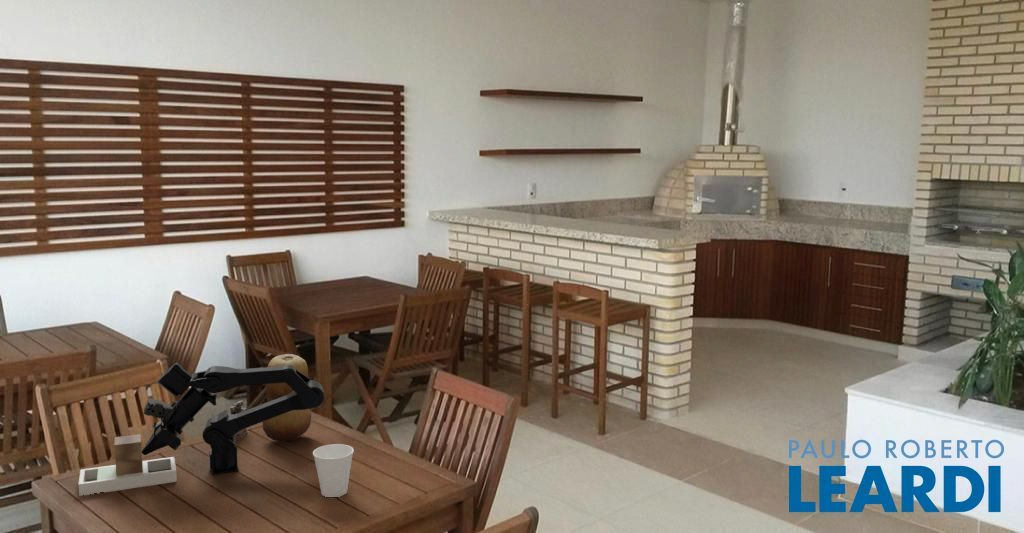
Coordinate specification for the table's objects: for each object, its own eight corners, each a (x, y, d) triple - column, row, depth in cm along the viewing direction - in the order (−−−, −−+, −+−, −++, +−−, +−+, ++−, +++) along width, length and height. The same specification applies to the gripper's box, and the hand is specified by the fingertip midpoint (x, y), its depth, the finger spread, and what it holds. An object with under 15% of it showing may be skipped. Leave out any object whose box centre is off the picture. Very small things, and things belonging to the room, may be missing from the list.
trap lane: (174, 467, 219) (174, 456, 218) (176, 481, 210) (176, 470, 209) (81, 480, 209) (80, 469, 209) (79, 496, 200) (78, 484, 200)
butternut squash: (286, 452, 230) (283, 365, 226) (253, 442, 237) (250, 358, 233) (322, 437, 242) (320, 354, 238) (289, 428, 249) (287, 348, 245)
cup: (319, 505, 197) (318, 461, 195) (309, 489, 206) (308, 447, 204) (359, 497, 201) (359, 454, 200) (348, 482, 210) (347, 441, 208)
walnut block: (142, 463, 213) (140, 434, 212) (142, 472, 208) (140, 441, 207) (116, 467, 211) (114, 437, 210) (116, 475, 205) (114, 445, 204)
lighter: (235, 441, 238) (234, 408, 236) (225, 440, 239) (223, 407, 237) (249, 431, 246) (248, 399, 244) (239, 431, 246) (238, 398, 245)
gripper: (161, 378, 218) (117, 423, 215) (164, 398, 201) (116, 447, 199) (194, 403, 223) (152, 448, 220) (199, 425, 206) (153, 474, 203)
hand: (143, 453), depth 210 cm, fingers closed
